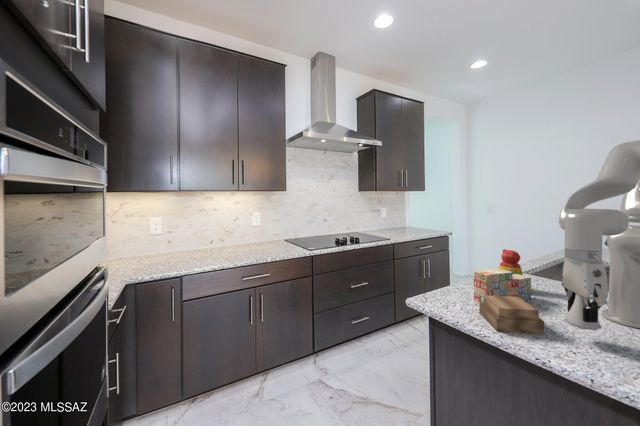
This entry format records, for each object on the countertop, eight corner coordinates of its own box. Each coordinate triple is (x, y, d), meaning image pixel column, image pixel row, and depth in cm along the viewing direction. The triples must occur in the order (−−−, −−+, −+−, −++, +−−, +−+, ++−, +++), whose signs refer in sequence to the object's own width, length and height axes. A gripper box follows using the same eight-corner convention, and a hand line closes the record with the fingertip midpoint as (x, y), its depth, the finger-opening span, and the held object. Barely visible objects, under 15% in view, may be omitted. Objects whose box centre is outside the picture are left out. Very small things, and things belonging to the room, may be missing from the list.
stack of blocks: (516, 294, 111) (517, 266, 110) (531, 300, 105) (531, 270, 104) (473, 299, 107) (473, 270, 106) (486, 306, 100) (486, 274, 100)
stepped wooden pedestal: (519, 315, 92) (520, 295, 91) (544, 334, 79) (544, 311, 78) (479, 313, 94) (479, 294, 94) (496, 331, 81) (496, 309, 81)
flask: (608, 330, 71) (609, 295, 71) (581, 331, 72) (582, 296, 71) (582, 318, 79) (582, 285, 78) (558, 319, 79) (558, 287, 78)
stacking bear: (531, 291, 113) (531, 251, 113) (512, 294, 111) (513, 253, 110) (508, 284, 124) (508, 247, 123) (490, 286, 122) (491, 248, 121)
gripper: (627, 262, 65) (626, 333, 66) (574, 248, 81) (574, 304, 83) (592, 263, 66) (591, 331, 67) (547, 248, 83) (547, 304, 84)
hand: (582, 316), depth 75 cm, fingers closed on flask, 4 cm apart
